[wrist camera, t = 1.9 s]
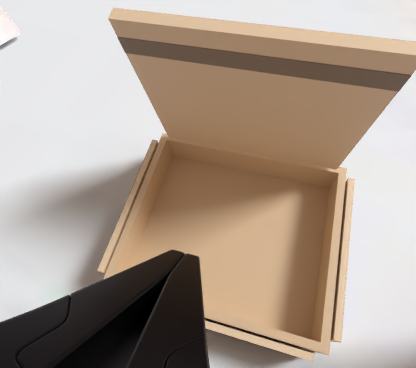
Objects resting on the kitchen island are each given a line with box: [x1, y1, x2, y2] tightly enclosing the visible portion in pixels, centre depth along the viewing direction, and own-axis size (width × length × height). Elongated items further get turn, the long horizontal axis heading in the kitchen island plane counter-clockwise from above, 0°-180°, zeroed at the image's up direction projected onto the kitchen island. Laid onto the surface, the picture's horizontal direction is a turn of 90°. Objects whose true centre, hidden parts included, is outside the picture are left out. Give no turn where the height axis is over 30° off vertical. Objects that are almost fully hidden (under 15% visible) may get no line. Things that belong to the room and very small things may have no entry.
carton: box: [97, 134, 355, 362], centre depth 21 cm, size 12×15×3 cm
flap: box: [108, 8, 416, 169], centre depth 17 cm, size 1×12×11 cm, turn 74°
